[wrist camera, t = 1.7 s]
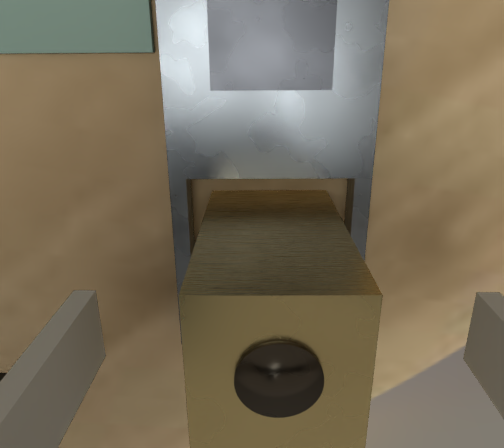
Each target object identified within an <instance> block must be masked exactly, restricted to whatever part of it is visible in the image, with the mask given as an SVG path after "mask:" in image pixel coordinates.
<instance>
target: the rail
mask: <svg viewBox="0 0 504 448" xmlns="http://www.w3.org/2000/svg"><path fill="white" fill-rule="evenodd" d="M155 3H156V16H157V29H158V42H159V55H160V68H161V81H162V95H163V108H164V121H165V134H166V147H167V160H168V173H169V186H170V199H171V212H172V226H173V239H174V252H175V265H176V278H177V291H178V304H179V293H180V290H181V286H182V283H183V280H184V277H185V274H186V271H187V268H188V265H189V262H190V259H191V255H192V252H193V249H194V246H195V240H194V222H193V205H192V188H191V179H300V178H348V183H347V196H346V210H345V224H344V225H345V226H346V228H347V230H348V232H349V234H350V236H351V238H352V239H353V241H354V243H355V245H356V247H357V249H358V251H359V252H360V254H361V256H362V258H363V260H365V250H366V239H367V228H368V218H369V207H370V197H371V186H372V175H373V165H374V154H375V144H376V133H377V122H378V112H379V101H380V91H381V80H382V70H383V59H384V48H385V38H386V27H387V17H388V6H389V0H155ZM179 317H180V309H179ZM180 330H181V322H180ZM181 344H182V335H181Z"/></svg>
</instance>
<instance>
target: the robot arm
mask: <svg viewBox="0 0 504 448" xmlns="http://www.w3.org/2000/svg"><path fill="white" fill-rule="evenodd" d="M105 356H106V355H105V348H104V342H103V335H102V328H101V322H100V315H99V309H98V302H97V296H96V290H74V291H73V292H72V293H71V295H70V296H69V297H68V298H67V300H66V301H65V302H64V303H63V305H62V306H61V307H60V308H59V309H58V311H57V312H56V313H55V314H54V316H53V317H52V318H51V319H50V321H49V322H48V323H47V324H46V326H45V327H44V328H43V329H42V330H41V332H40V333H39V334H38V335H37V337H36V338H35V339H34V340H33V342H32V343H31V344H30V345H29V347H28V348H27V349H26V350H25V352H24V353H23V354H22V355H21V356H20V358H19V359H18V360H17V361H16V363H15V364H14V365H13V366H12V368H11V369H10V370H9V371H8V373H0V448H58V446H59V444H60V442H61V440H62V438H63V436H64V435H65V433H66V431H67V429H68V427H69V425H70V423H71V421H72V419H73V417H74V415H75V414H76V412H77V410H78V408H79V406H80V404H81V402H82V400H83V398H84V396H85V394H86V393H87V391H88V389H89V387H90V385H91V383H92V381H93V379H94V377H95V375H96V373H97V372H98V370H99V368H100V366H101V364H102V362H103V360H104V358H105ZM463 359H464V361H465V362H466V364H467V365H468V367H469V368H470V369H471V371H472V373H473V374H474V376H475V377H476V378H477V380H478V381H479V383H480V384H481V386H482V387H483V389H484V390H485V392H486V393H487V395H488V396H489V398H490V399H491V401H492V402H493V404H494V405H495V407H496V408H497V410H498V411H499V413H500V414H501V416H502V417H503V419H504V296H503V295H502V294H501V293H499V292H477V293H476V298H475V303H474V308H473V313H472V318H471V323H470V328H469V333H468V338H467V343H466V348H465V353H464V358H463Z"/></svg>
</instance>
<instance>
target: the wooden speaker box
mask: <svg viewBox="0 0 504 448" xmlns="http://www.w3.org/2000/svg"><path fill="white" fill-rule="evenodd" d="M382 296H383V295H382V293H381V291H380V290H379V288H378V286H377V284H376V282H375V280H374V278H373V277H372V275H371V273H370V271H369V269H368V267H367V265H366V264H365V262H364V260H363V258H362V256H361V254H360V252H359V251H358V249H357V247H356V245H355V243H354V241H353V239H352V238H351V236H350V234H349V232H348V230H347V228H346V226H345V225H344V223H343V221H342V219H341V217H340V215H339V213H338V212H337V210H336V208H335V206H334V204H333V202H332V200H331V199H330V197H329V195H328V193H327V191H326V190H256V191H212V194H211V197H210V200H209V203H208V206H207V209H206V212H205V215H204V218H203V221H202V225H201V228H200V231H199V234H198V237H197V240H196V243H195V246H194V249H193V252H192V255H191V259H190V262H189V265H188V268H187V271H186V274H185V277H184V280H183V283H182V286H181V290H180V293H179V309H180V322H181V335H182V349H183V362H184V375H185V388H186V401H187V415H188V428H189V441H190V448H365V444H366V436H367V427H368V418H369V410H370V401H371V392H372V383H373V375H374V366H375V357H376V348H377V340H378V331H379V322H380V313H381V305H382Z"/></svg>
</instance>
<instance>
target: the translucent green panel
mask: <svg viewBox="0 0 504 448" xmlns="http://www.w3.org/2000/svg"><path fill="white" fill-rule="evenodd" d="M147 52H155V48H154V35H153V23H152V10H151V0H0V54H3V53H147Z"/></svg>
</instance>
